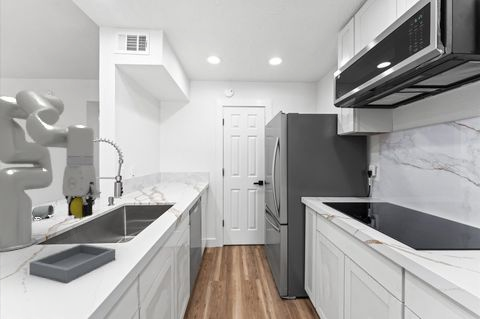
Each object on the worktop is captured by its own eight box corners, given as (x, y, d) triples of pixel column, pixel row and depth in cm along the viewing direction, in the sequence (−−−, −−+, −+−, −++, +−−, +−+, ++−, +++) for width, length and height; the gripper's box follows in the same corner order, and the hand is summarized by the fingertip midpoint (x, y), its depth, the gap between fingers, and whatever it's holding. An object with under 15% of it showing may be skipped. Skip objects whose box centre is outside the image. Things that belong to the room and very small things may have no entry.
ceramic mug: (38, 217, 138) (38, 204, 138) (54, 216, 140) (54, 203, 140) (27, 221, 127) (27, 208, 127) (45, 220, 130) (45, 207, 130)
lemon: (93, 216, 79) (93, 193, 79) (83, 220, 74) (83, 196, 74) (77, 217, 79) (77, 194, 79) (66, 221, 73) (66, 196, 73)
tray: (29, 274, 68) (29, 262, 68) (81, 253, 83) (81, 243, 83) (66, 283, 62) (66, 270, 62) (115, 259, 78) (115, 249, 78)
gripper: (50, 162, 75) (50, 216, 75) (89, 162, 70) (89, 220, 70) (73, 162, 82) (72, 211, 82) (109, 161, 77) (109, 214, 77)
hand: (80, 214), depth 76 cm, fingers closed on lemon, 5 cm apart
